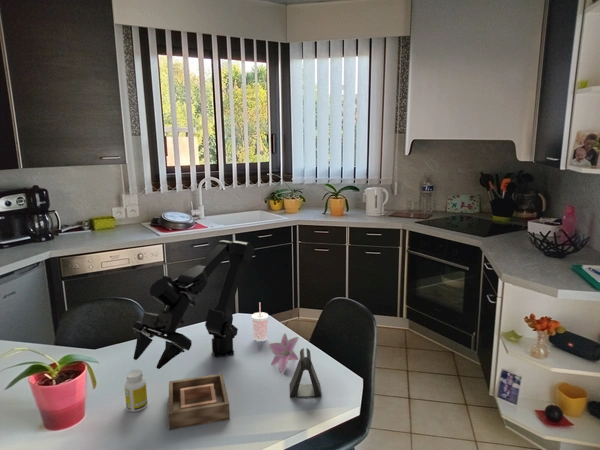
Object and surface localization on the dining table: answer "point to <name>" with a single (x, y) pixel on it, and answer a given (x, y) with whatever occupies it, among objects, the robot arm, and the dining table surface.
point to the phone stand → (295, 386)
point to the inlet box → (197, 401)
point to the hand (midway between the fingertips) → (145, 363)
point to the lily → (284, 352)
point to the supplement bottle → (135, 391)
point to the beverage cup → (260, 325)
